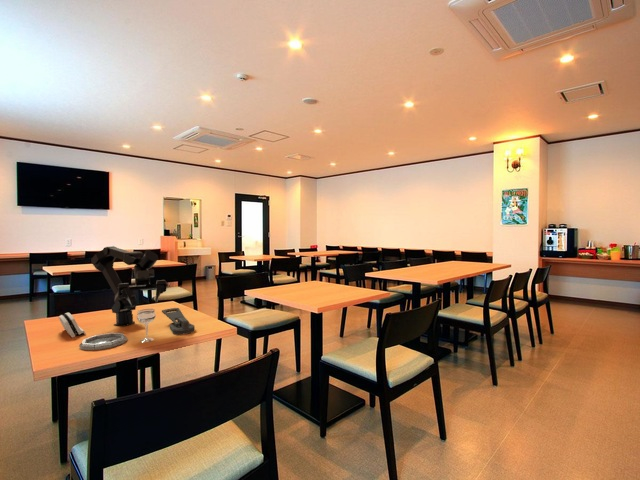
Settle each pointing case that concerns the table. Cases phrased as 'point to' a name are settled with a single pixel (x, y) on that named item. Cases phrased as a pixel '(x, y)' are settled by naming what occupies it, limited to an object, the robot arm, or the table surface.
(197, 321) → the table surface
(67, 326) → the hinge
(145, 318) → the wineglass
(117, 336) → the rosette plate
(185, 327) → the zipper pull
